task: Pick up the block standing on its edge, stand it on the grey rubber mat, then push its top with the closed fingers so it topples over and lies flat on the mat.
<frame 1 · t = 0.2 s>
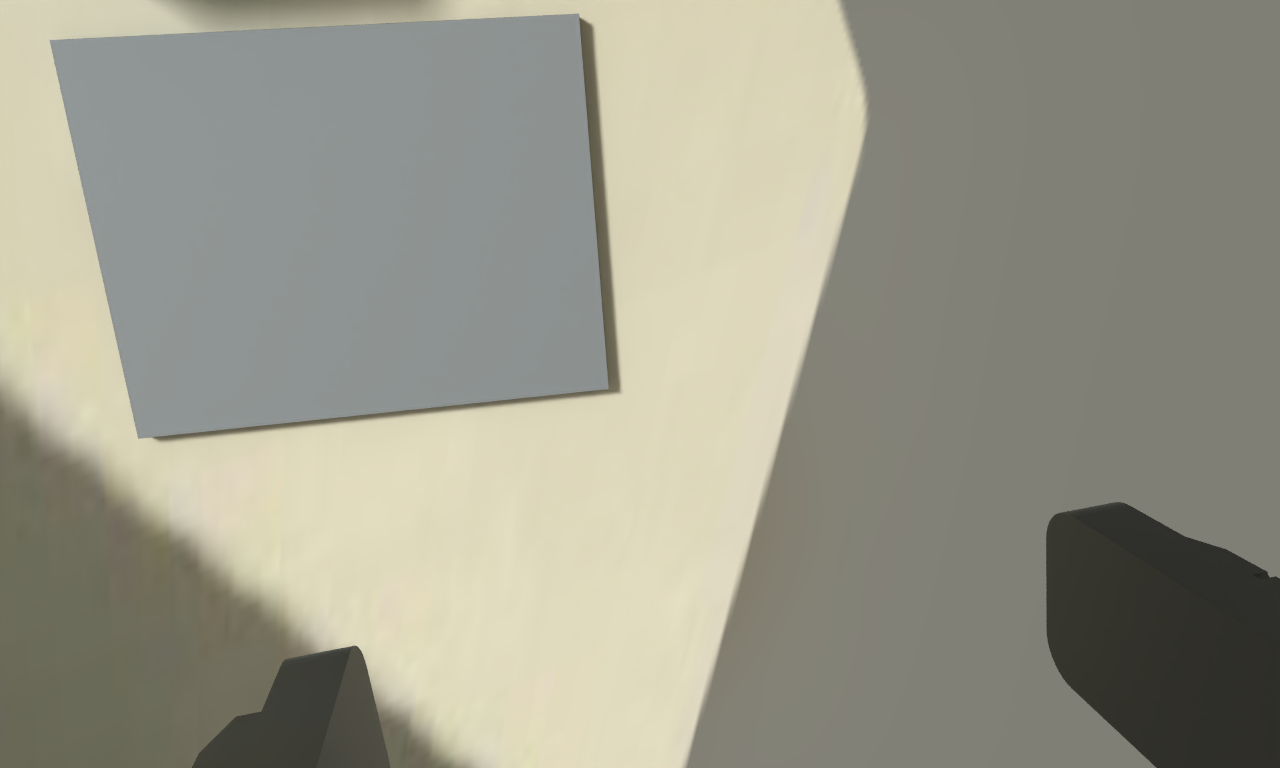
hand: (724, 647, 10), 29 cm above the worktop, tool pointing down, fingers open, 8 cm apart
mat: (356, 229, 36), on the worktop
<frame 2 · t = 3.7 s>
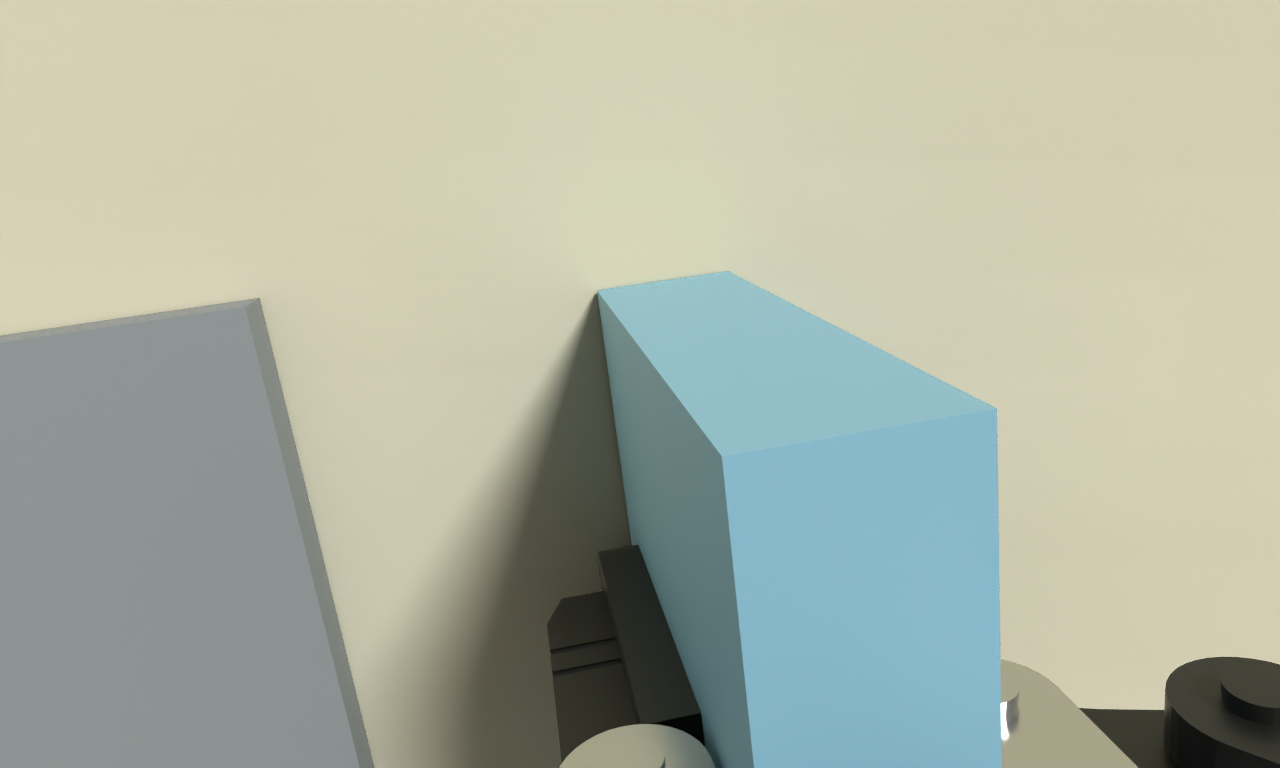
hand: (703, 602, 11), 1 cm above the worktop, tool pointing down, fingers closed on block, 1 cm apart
block: (697, 580, 12), on the worktop, touching gripper
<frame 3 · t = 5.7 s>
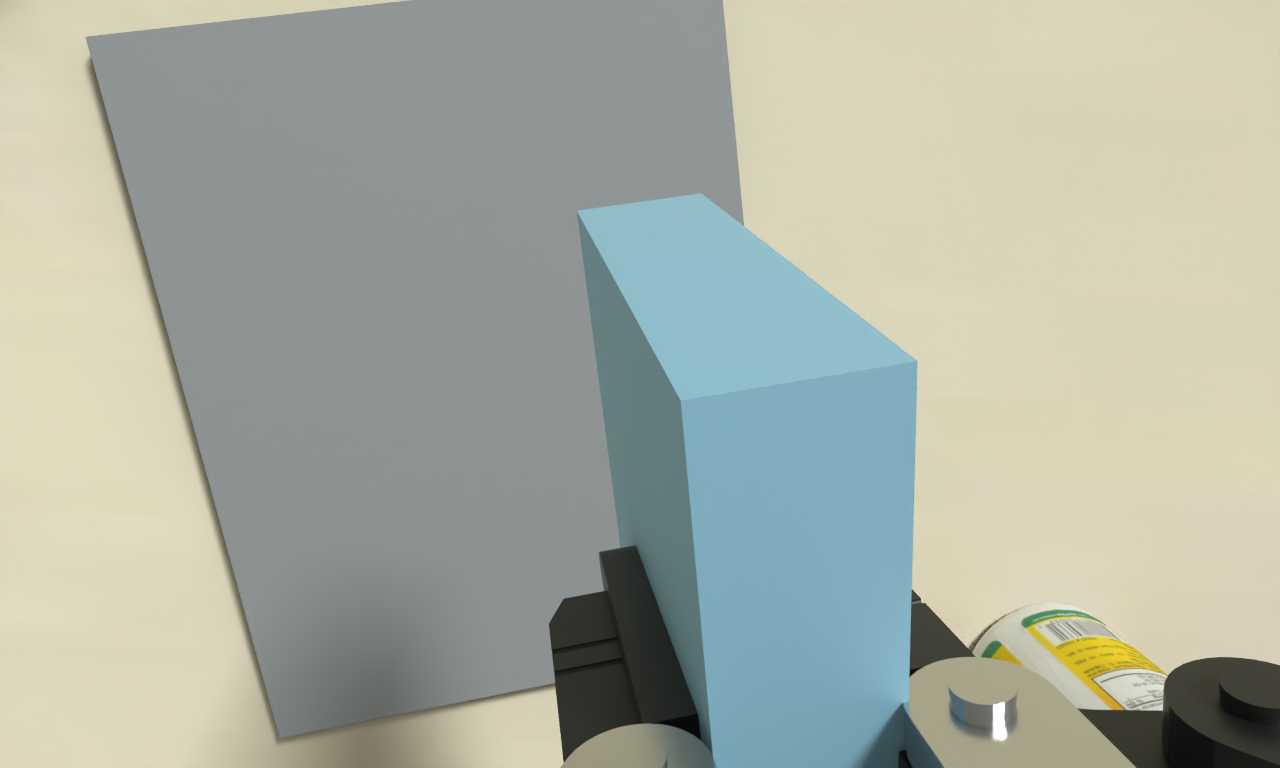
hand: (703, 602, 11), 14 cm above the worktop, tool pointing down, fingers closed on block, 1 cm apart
block: (667, 478, 13), point 12 cm above the worktop, tilted 8°, touching gripper
supplement bottle: (1027, 667, 30), on the worktop
mat: (484, 374, 25), on the worktop
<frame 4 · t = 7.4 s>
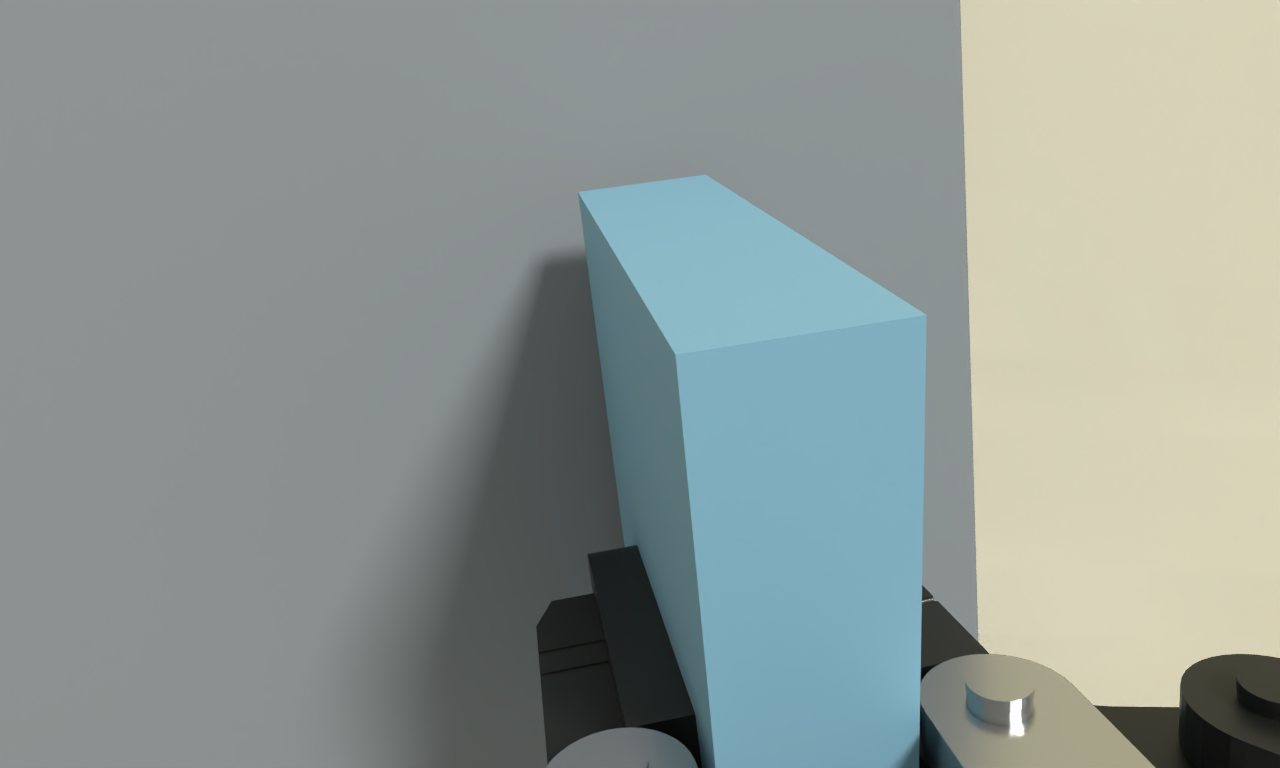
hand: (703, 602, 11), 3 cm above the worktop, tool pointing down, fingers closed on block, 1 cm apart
block: (672, 470, 13), point 1 cm above the worktop, tilted 7°, touching gripper
mat: (490, 563, 14), on the worktop
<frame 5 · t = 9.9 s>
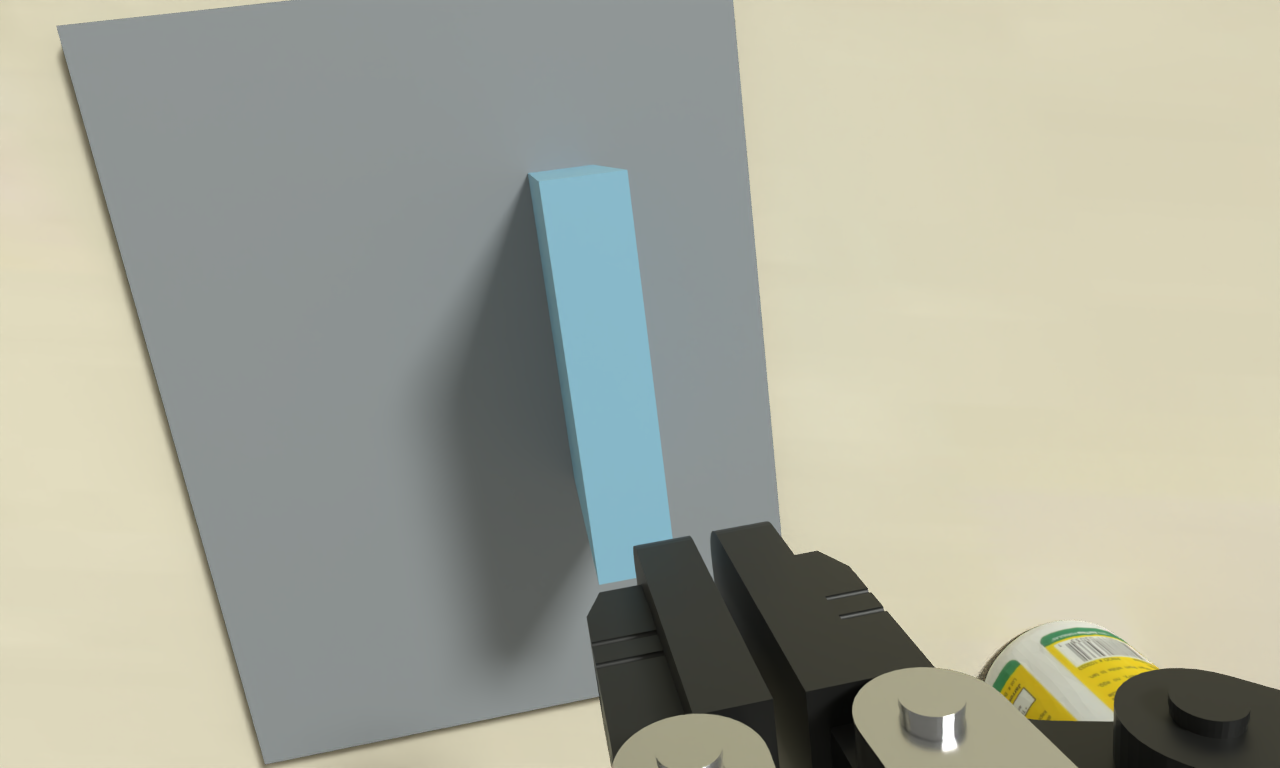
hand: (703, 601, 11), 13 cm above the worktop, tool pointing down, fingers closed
block: (583, 329, 23), point 1 cm above the worktop, touching mat
supplement bottle: (1045, 686, 29), on the worktop
mat: (480, 383, 23), on the worktop
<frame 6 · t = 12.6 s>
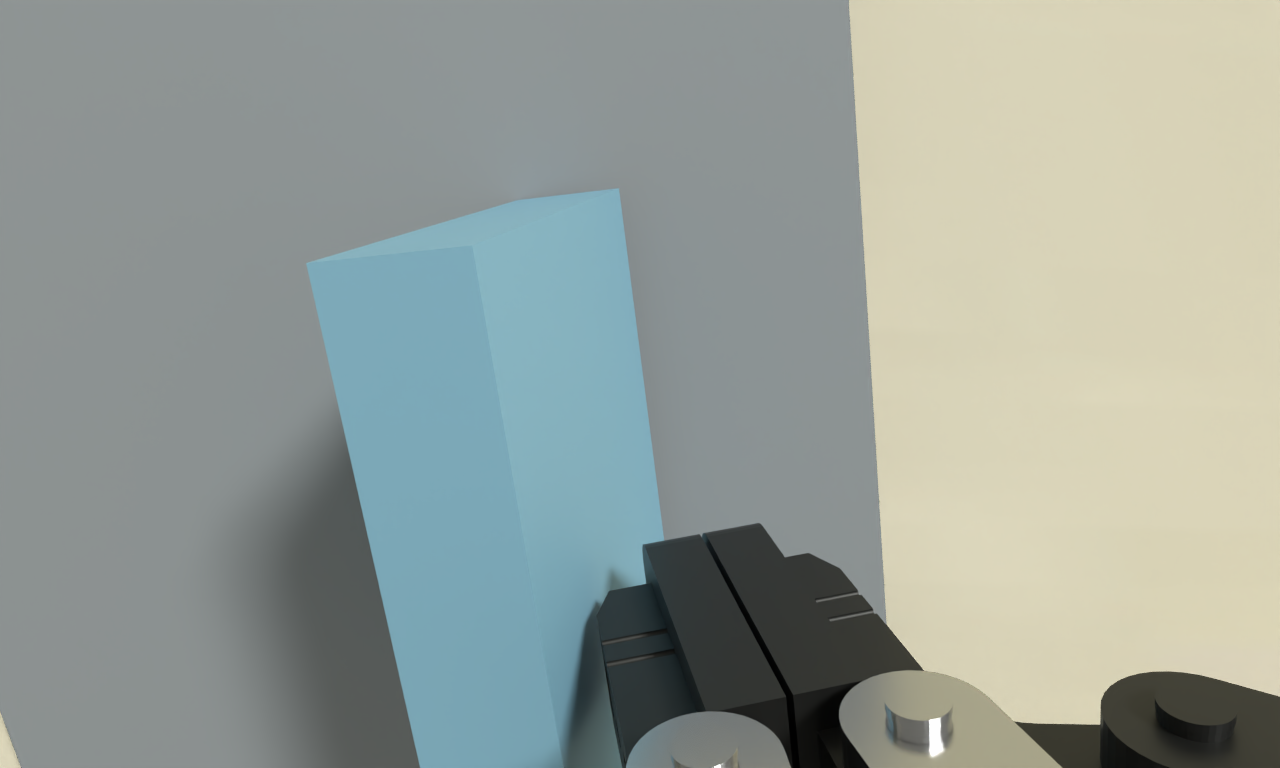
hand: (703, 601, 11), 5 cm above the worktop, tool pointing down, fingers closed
block: (603, 442, 15), point 1 cm above the worktop, tilted 19°, touching mat
mat: (447, 515, 15), on the worktop
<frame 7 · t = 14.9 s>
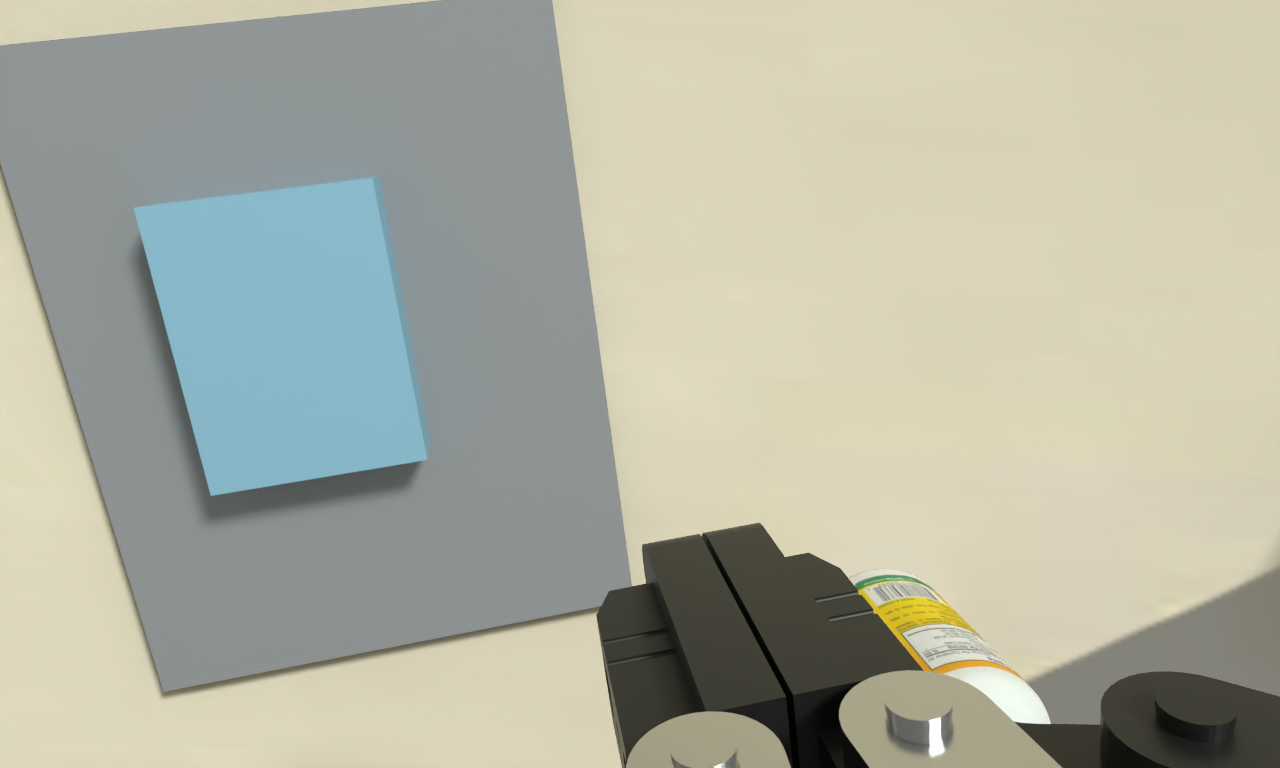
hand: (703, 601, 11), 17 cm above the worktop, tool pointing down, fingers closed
block: (403, 319, 26), point 1 cm above the worktop, tilted 90°, touching mat
supplement bottle: (868, 629, 33), on the worktop
mat: (347, 357, 27), on the worktop
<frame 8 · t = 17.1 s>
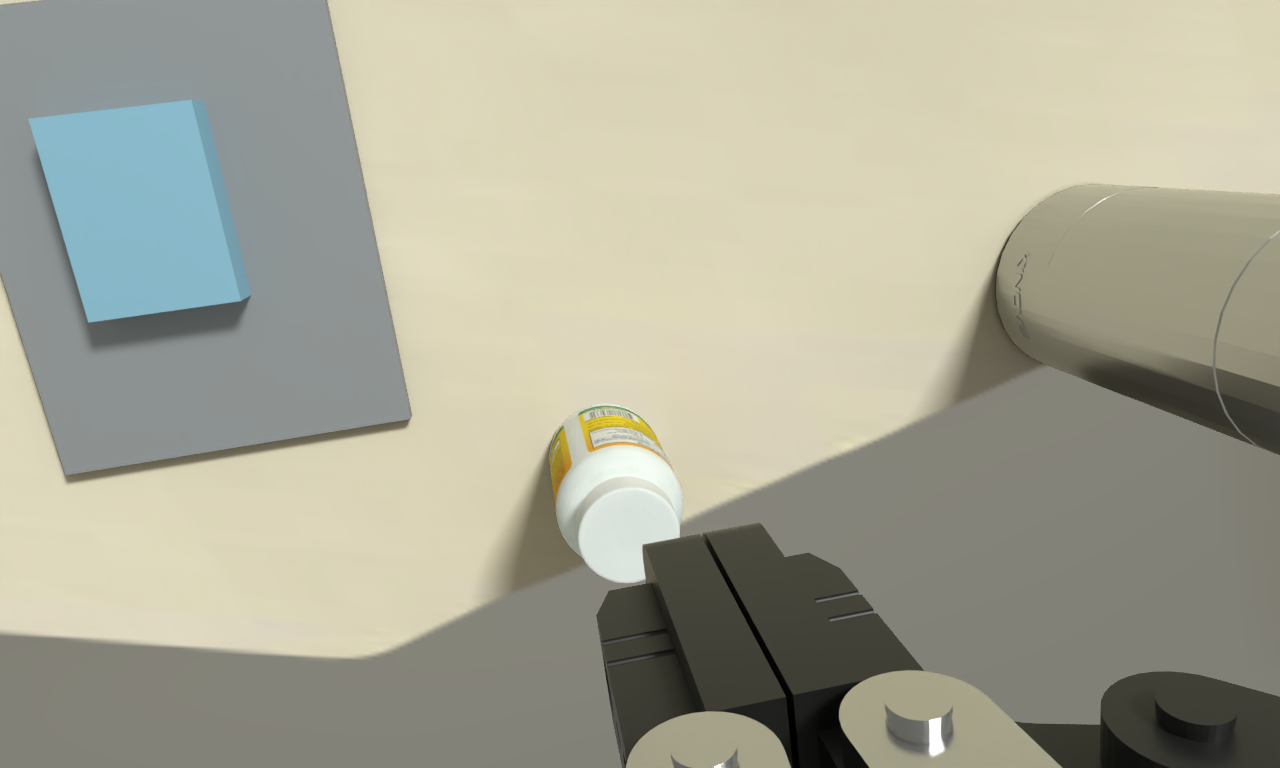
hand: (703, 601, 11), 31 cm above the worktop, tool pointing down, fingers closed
block: (222, 202, 37), point 1 cm above the worktop, tilted 90°, touching mat
supplement bottle: (602, 453, 44), on the worktop
mat: (191, 233, 38), on the worktop
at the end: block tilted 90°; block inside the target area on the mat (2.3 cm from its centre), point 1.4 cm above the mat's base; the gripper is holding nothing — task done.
